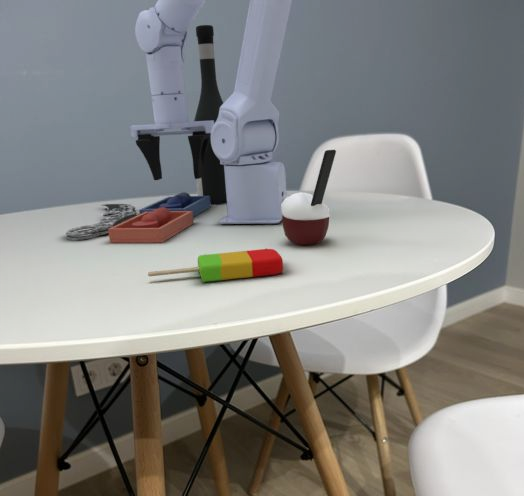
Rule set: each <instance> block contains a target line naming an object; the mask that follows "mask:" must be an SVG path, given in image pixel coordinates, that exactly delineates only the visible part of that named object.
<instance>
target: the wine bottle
mask: <svg viewBox="0 0 524 496" xmlns="http://www.w3.org/2000/svg"><path fill="white" fill-rule="evenodd" d="M214 33H215V32H214V26H213V25H211V24H201V25H200V24H199V25H197V26H196V27H195V34H196V35H195V36H196V38H197V46H198V56H199V57H198V58H199V68H200V79H201V81H200V82H201V87H200V95H199V101H198V105H197V109H196V112H195V116H194V120H193V121H212V120H214V124H215V122H216V121H217V118H218V115H219V110H220V107H221V106H222V104H223V103H224V101H223V98H222V96H221V93H220V90H219V87H218V82H217V81H218V80H217V73H216V59H215V58H216V57H215V45H214V36H215V34H214ZM191 135H193V134H191ZM209 135H211V133H209ZM195 182H196V183H195V184H196V192H197V196H210V203H211V205H223V204H227V197H226V184H225V172H224V165H223V164H220V160H219V159H218V158H217V156H216V155H215V153H214V151H213V149H212V146H211V140H210V142H209V145H208V148H207V151H206V154H205V158H204V164H203V172H202V178H199V179H195Z"/></svg>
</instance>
